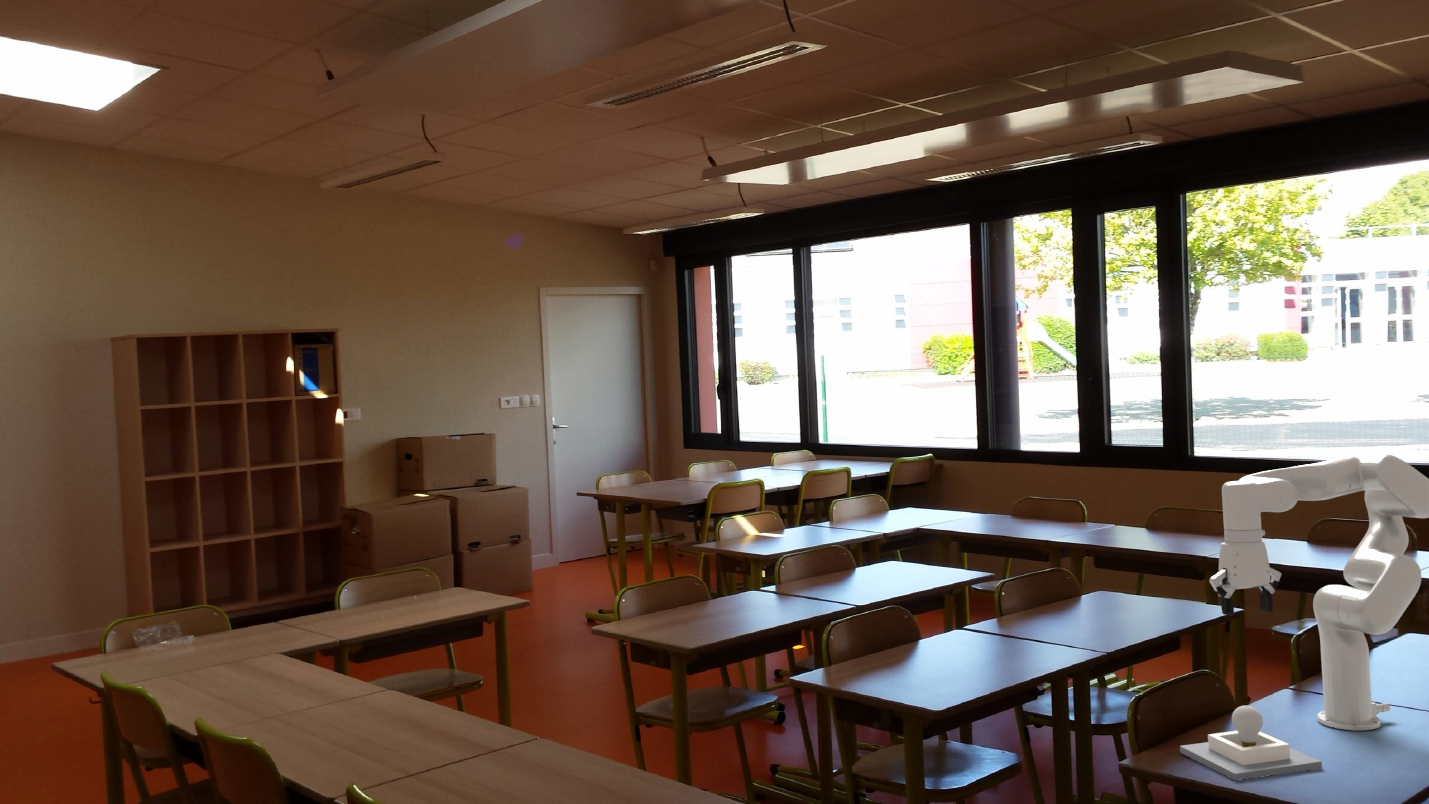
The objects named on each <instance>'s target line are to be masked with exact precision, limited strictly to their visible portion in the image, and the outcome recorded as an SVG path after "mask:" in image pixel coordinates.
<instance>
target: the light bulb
mask: <svg viewBox="0 0 1429 804" xmlns="http://www.w3.org/2000/svg"><path fill="white" fill-rule="evenodd" d="M1231 721H1232V722H1231V723H1232V725H1233V726H1234V729H1235V731H1238V733H1239V736H1240V739H1241V742H1242V747H1251V746H1256V740H1257V736H1258V733H1259V731H1260V732H1261V729H1262V728H1263V727H1264V719H1263V716H1262V714H1261V713H1260V710H1258V709H1256V708H1255V707H1254V706H1251V705H1250V706H1249V705H1241V706H1238V707H1237V708H1235V709H1234V711H1233V712H1232V715H1231Z"/></svg>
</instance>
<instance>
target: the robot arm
mask: <svg viewBox="0 0 1429 804" xmlns="http://www.w3.org/2000/svg"><path fill="white" fill-rule="evenodd" d="M1362 491H1364V502H1365V506H1366V511H1367V514H1368V520H1369V524H1368V529H1367V531H1366V533H1365V535H1364V537H1363V538H1362V539H1361V541H1360V542H1359V544H1358V545H1357V546H1356V547H1355V549H1354V551H1353V552H1352V553H1351V555H1350V556H1349V557H1348V559H1347V561H1346V563H1345V565H1344V568H1343V570H1342V571H1343V574H1342V575H1343V578H1344V580H1345V581H1346V582H1347V584H1349V585H1351V586H1349V585H1343V584H1327V585H1325V586H1323V587H1321V588H1319V589H1318V590H1317V591H1316V593H1315V594H1314V597H1313V601H1312V602H1313V603H1312V607H1313V613H1314V616H1315V620H1316V623H1317V628H1318V633H1319V634H1318V635H1319V640H1320V641H1319V642H1320V657H1321V658H1320V661H1321V675H1322V676H1321V677H1322V679H1321V680H1322V692H1323V693H1322V695H1323V708H1324V709H1323V711H1320V712H1318V713H1317V714H1316V717H1317V718H1316V720H1317V721H1318V723H1320V724H1322V725H1324V726H1326V727H1330V728H1333V727H1334V729H1339V730H1345V731H1357V732H1359V731H1360V732H1361V731H1364V732H1365V731H1373V730H1377V729H1379V728H1381V725H1382V722H1381V719H1380V718H1379V717H1378V716H1377V715H1378V714H1379V713H1387V712H1390V711H1391V706H1390V704H1389V703H1388V702H1383V703H1376V702H1374V701H1372V700H1373V699H1372V687H1371V685H1372V684H1371V670H1370V650H1369V649H1370V648H1369V646H1368V645H1369V644H1368V642H1367V639H1366V637H1365V634H1369V635H1377V636H1378V635H1379V636H1380V635H1384V634H1386V633H1388V632H1389V631H1391V630H1392V629H1393V628H1394V627H1395V625H1396V624H1397V623H1398V622H1399V620H1400V618H1401V617H1402V616H1403V614H1404V612H1405V611H1406V610H1407V608H1408V607H1409V605H1410V604H1411V602H1412V601H1413V599H1414V598H1415V597H1416V596H1417V595H1416V594H1417V593H1418V591H1419V589H1420V586H1421V583H1422V571H1421V568H1420V566H1419V564H1418V562H1417V561H1416V560H1415V559H1414V558H1412V557H1410V556H1408V555H1405V554H1404V553H1405V551H1406V550H1407V548H1408V545H1409V542H1410V541H1409V540H1410V539H1409V534H1408V533H1409V532H1408V531H1407V528H1406V525H1405V522H1404V519H1403V518H1404V517H1405V518H1416V519H1427V518H1428V519H1429V478H1428V477H1427V476H1425V475H1424V474H1423V473H1421V472H1420V471H1418V469H1416V468H1415V467H1413V466H1412V465H1410V464H1409V463H1408V462H1406V461H1404V460H1402V459H1401V458H1399V457H1397V456H1395V455H1392V454H1381V453H1352V454H1350V455H1349V454H1348V455H1344V456H1339V457H1336V458H1332V459H1328V460H1324V461H1320V462H1315V463H1310V464H1303V465H1297V466H1296V465H1295V466H1291V467H1290V466H1289V467H1286V468H1278V469H1272V470H1271V469H1270V470H1266V471H1265V470H1264V471H1260V472H1256V473H1252V474H1248V475H1245V476H1242V477H1240V478H1239V479H1238V480H1232V481H1227V482H1225V483H1224V484H1222V486H1221V498H1222V499H1221V502H1222V515H1223V530H1224V531H1223V532H1224V534H1223V535H1224V537H1223V538H1224V542H1221V544H1220V549H1219V557H1218V572H1217V573H1216V574H1214V575H1213V576H1211V577H1209V580H1208V581H1209V584H1210V585H1211V586H1212V587H1211V588H1212V589H1213V591H1214V592H1215V593H1216V594H1217V595H1218V596H1219V597H1220V603H1221V604H1220V605H1221V606H1220V607H1221V613H1222V615H1225V616H1229V617H1234V616H1235V606H1234V599H1233V597H1232V595H1233V594H1234V592H1235V591H1236V590H1242V589H1243V590H1244V589H1251V588H1259V589H1260V592H1259V607H1260V610H1262V611H1265V612H1267V613H1271V612H1272V613H1273V611H1274V609H1273V604H1274V603H1273V601H1274V600H1273V595H1274V594H1275V592H1276V589H1277V587H1278V586H1279V582H1280V579H1281V577H1282V573H1281V572H1280V571H1278V570H1276V569H1274V568H1272V567H1270V562H1269V561H1270V560H1269V554H1268V550H1267V547H1266V543H1265V542H1264V541H1263V536H1265V535H1266V531H1265V529H1262V516H1261V513H1262V512H1265V513H1267V512H1269V513H1282V512H1287V511H1289V510H1291V509H1293V508H1294V507H1295V506H1296V504H1297V503H1298V501H1307V502H1308V501H1310V502H1311V501H1313V502H1315V501H1316V502H1317V501H1326V500H1330V499H1334V498H1337V497H1341V496H1347V495H1349V494H1354V493H1357V492H1362Z"/></svg>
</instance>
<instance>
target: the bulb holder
mask: <svg viewBox="0 0 1429 804" xmlns="http://www.w3.org/2000/svg"><path fill="white" fill-rule="evenodd" d="M1179 753H1180V754H1182V755H1184V756H1186V757H1188V758H1189V757H1190V759H1191V760H1193V761H1196V762H1197V763H1200V764H1201V765H1204V766H1205V767H1207V768H1209V769H1211V770H1213V771H1215V772H1217V773H1219V774H1221V775H1223V776H1225V775H1226V776H1225V777H1227V776H1229V777H1228V779H1230V778H1232V779H1234V780H1239V779H1247V778H1254V779H1257V778H1256V777H1261V776H1267V775H1275V776H1277V775H1276V774H1282V775H1286V774H1285V773H1289V774H1291V773H1290V772H1296V773H1298V772H1297V771H1303V772H1306V771H1305V770H1310V771H1316V770H1323V761H1321V760H1320V759H1317V758H1314V757H1313V756H1310V755H1308V754H1305V753H1303V752H1301V751H1299V750H1297V749H1294V748H1292V747H1290V743H1287V742H1285V741H1283V740H1280V739H1279V738H1275V737H1274V736H1271V735H1269V734H1267V733H1264V732H1262V731H1261V730H1260V731H1259V733H1258V736H1257V740H1256V746H1251V747H1242V742H1241V739H1240V736H1239V733H1238V731H1237V730H1232V731H1225V732H1216V733H1211V734H1209V733H1208V734H1207V741H1206V742H1201V743H1191V744H1184V745H1179ZM1261 778H1262V777H1261ZM1232 779H1231V780H1232ZM1234 780H1233V781H1234ZM1247 780H1248V779H1247Z"/></svg>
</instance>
